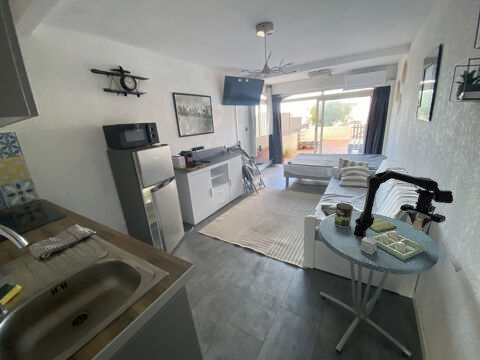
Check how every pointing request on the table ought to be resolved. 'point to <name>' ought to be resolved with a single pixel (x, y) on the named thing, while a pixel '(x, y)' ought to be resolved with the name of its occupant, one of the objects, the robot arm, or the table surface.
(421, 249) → the egg tray
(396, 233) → the egg
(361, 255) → the table surface
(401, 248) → the egg
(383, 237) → the egg
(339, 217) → the coffee can
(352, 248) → the table surface
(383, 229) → the washcloth
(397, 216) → the table surface
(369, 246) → the skincare box
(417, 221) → the brown egg
